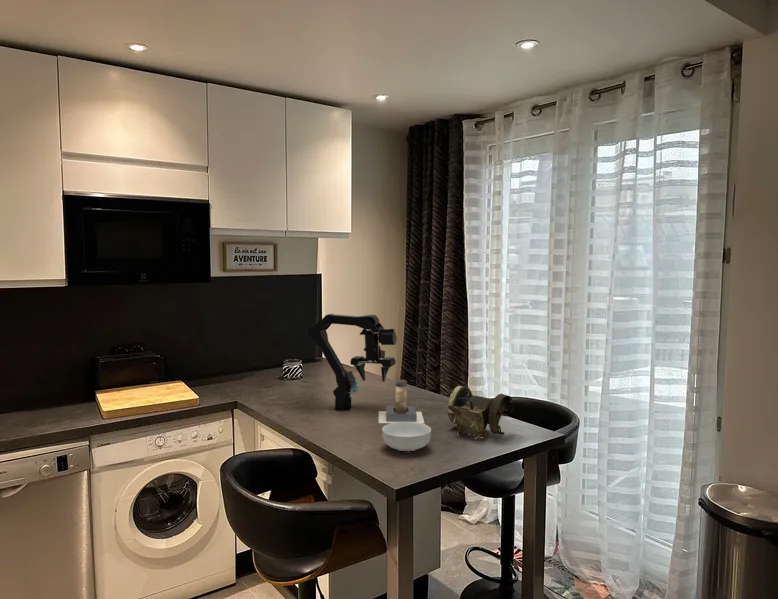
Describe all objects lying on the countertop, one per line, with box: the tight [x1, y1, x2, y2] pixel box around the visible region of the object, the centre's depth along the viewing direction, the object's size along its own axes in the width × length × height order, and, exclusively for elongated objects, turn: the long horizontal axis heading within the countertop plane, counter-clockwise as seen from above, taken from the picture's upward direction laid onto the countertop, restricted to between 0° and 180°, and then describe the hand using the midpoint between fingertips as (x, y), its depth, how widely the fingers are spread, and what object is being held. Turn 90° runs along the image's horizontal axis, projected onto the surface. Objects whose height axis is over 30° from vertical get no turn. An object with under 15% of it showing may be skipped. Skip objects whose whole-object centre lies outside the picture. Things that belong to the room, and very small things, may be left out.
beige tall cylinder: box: [394, 379, 408, 412], centre depth 224 cm, size 4×4×15 cm
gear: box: [352, 380, 359, 392], centre depth 269 cm, size 11×6×10 cm
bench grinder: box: [447, 385, 515, 440], centre depth 206 cm, size 20×22×20 cm
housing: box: [385, 405, 417, 422], centre depth 224 cm, size 12×12×3 cm
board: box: [378, 410, 426, 425], centre depth 225 cm, size 18×16×1 cm
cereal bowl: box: [381, 422, 432, 452], centre depth 190 cm, size 17×17×7 cm
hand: (373, 381), depth 234 cm, fingers open, 9 cm apart
